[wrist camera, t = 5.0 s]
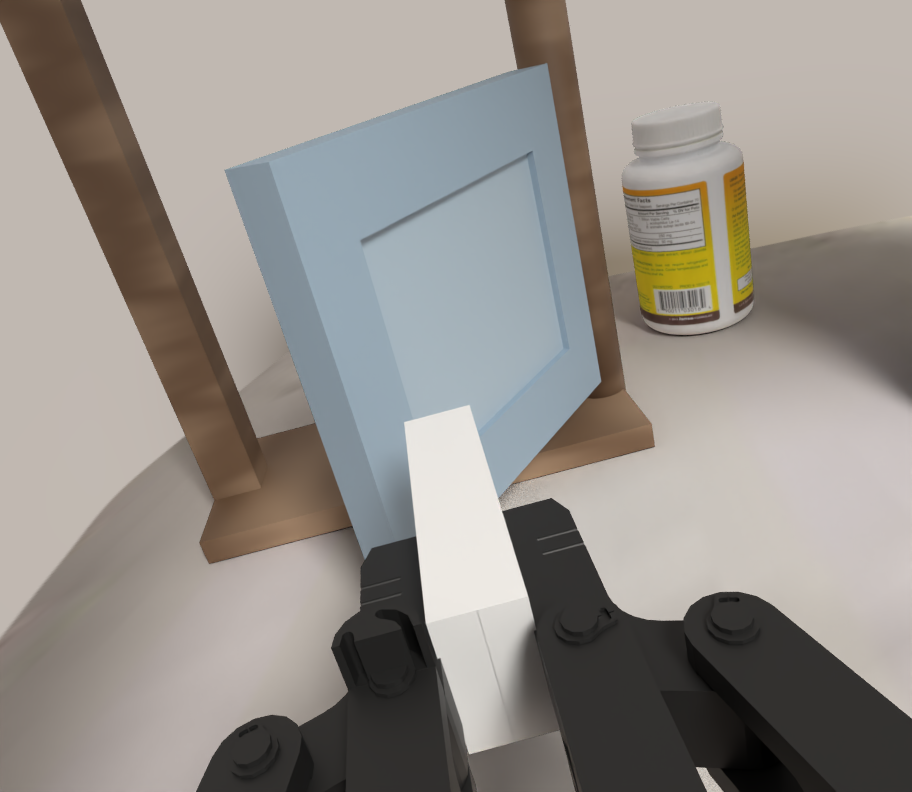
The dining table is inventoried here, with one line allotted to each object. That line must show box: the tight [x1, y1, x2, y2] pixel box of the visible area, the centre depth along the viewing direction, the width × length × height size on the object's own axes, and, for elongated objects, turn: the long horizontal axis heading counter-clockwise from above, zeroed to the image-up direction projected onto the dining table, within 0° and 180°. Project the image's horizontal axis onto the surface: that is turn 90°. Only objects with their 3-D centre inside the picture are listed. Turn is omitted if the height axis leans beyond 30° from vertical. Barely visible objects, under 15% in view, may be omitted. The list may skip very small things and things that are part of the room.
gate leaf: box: [225, 63, 601, 559], centre depth 23 cm, size 13×2×12 cm, turn 147°
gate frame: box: [0, 0, 655, 564], centre depth 27 cm, size 18×8×22 cm, turn 97°
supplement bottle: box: [622, 102, 754, 335], centre depth 36 cm, size 6×6×10 cm
